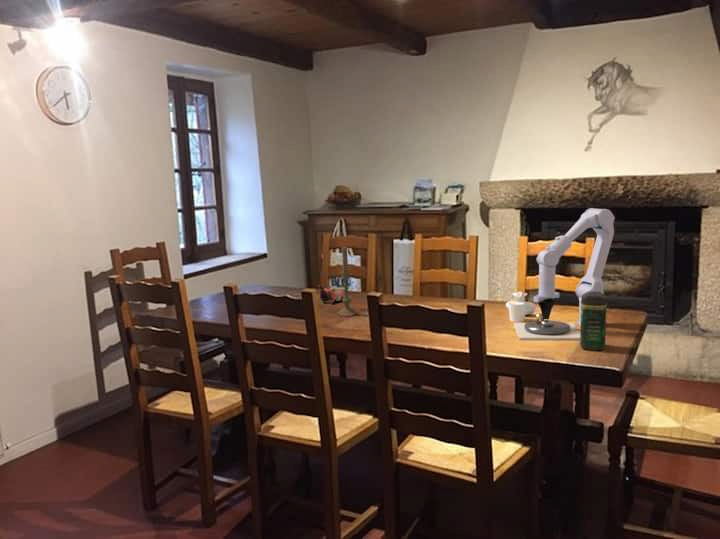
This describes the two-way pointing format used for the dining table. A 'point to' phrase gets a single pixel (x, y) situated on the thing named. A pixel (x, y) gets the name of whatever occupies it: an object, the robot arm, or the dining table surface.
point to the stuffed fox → (330, 294)
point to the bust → (520, 298)
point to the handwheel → (546, 326)
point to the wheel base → (526, 335)
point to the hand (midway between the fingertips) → (546, 318)
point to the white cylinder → (517, 311)
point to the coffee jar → (593, 321)
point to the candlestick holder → (345, 285)
